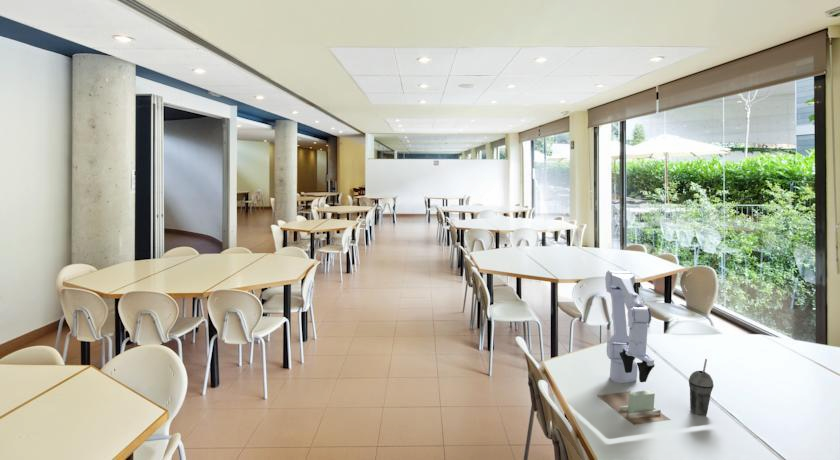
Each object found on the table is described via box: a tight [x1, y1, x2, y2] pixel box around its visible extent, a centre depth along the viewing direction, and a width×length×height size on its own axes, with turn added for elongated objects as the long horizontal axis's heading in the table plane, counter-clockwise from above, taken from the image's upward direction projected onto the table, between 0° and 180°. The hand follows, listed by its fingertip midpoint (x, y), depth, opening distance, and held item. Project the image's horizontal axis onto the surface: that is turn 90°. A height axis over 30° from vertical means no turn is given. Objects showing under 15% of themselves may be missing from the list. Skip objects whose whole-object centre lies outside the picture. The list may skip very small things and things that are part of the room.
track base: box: [596, 390, 671, 426], centre depth 158 cm, size 14×20×3 cm
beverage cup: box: [688, 358, 714, 417], centre depth 154 cm, size 7×7×20 cm
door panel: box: [628, 389, 656, 413], centre depth 154 cm, size 8×2×7 cm, turn 103°
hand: (635, 376), depth 162 cm, fingers open, 7 cm apart
